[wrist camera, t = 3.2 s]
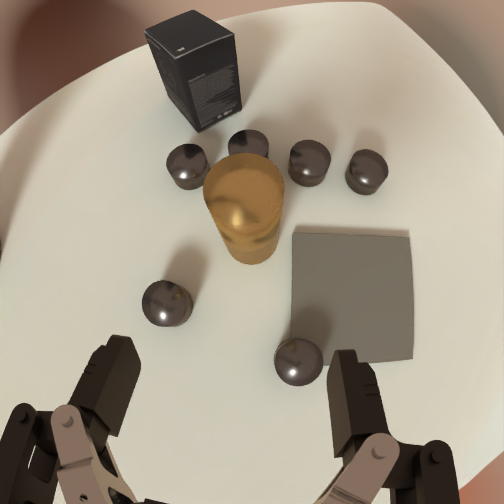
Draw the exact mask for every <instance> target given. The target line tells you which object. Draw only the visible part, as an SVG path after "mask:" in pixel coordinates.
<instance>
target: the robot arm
mask: <svg viewBox="0 0 504 504" xmlns="http://www.w3.org/2000/svg"><path fill="white" fill-rule="evenodd" d="M140 370H141V361H140V358H139V356H138V353H137V351H136V349H135V346H134V344H133V341H132V339H131V338H130V337H127V336H120V335H112V336H111V337H110V338H109V340H108V342H107V344H106V346H104V345H101V346H100V347H99V348H98V349H97V350H96V351H95V352H94V353H93V354H92V356H91V358H90V360H89V362H88V365H87V366H86V368H85V370H84V373H83V374H82V376H81V378H80V380H79V382H78V384H77V386H76V388H75V390H74V392H73V394H72V396H71V399H70V401H69V402H68V404H66V405H61V406H59V407H58V408H56V409H55V410H54V411H36V410H35V409H34V408H33V407H32V406H31V405H30V404H27V403H21V404H19V405H17V406H16V407H15V408H14V409H13V411H12V413H11V415H10V418H9V420H8V423H7V425H6V427H5V430H4V432H3V435H2V438H1V440H0V504H53V500H54V495H55V491H56V487H57V483H58V480H59V483H60V486H61V489H62V492H63V495H64V498H65V501H66V504H167V503H163V502H158V501H154V500H150V499H146V498H145V501H144V502H138V501H137V500H136V498H135V496H134V494H133V492H132V490H131V489H130V488H129V486H128V485H127V484H126V482H125V481H124V480H123V478H122V476H121V474H120V471H119V469H118V467H117V464H116V462H115V460H114V457H113V455H112V452H111V450H110V447H109V445H108V442H107V438H108V435H112V436H115V437H118V434H119V431H120V428H121V425H122V422H123V419H124V417H125V414H126V411H127V408H128V405H129V402H130V399H131V396H132V394H133V391H134V388H135V385H136V383H137V380H138V377H139V374H140ZM377 384H378V383H377V379H376V376H375V372H374V371H373V369H372V368H371V367H370V365H369V364H368V363H367V362H358V358H357V354H356V351H355V350H354V349H344V350H335V351H334V354H333V357H332V360H331V364H330V367H329V370H328V373H327V392H328V400H329V409H330V418H331V427H332V438H333V448H334V458H338V457H343V466H342V467H341V469H340V470H339V472H338V473H337V474H336V476H335V477H334V478H333V480H332V481H331V482H330V484H329V485H328V486H327V488H326V489H325V490H324V491H323V493H322V494H321V495H320V496H319V498H318V499H317V500H316V501H315V502H314V503H313V504H371V503H372V501H373V499H374V498H375V496H376V495H377V493H378V492H379V490H380V488H390V502H391V504H460V499H459V491H458V484H457V477H456V471H455V466H454V460H453V455H452V451H451V448H450V447H449V445H448V444H447V443H445V442H443V441H441V440H433V441H430V442H428V443H427V444H426V445H424V446H422V445H412V444H405V443H401V442H399V441H397V440H396V439H395V438H393V436H392V435H391V434H390V432H389V430H388V426H387V422H386V417H385V413H384V408H383V404H382V400H381V395H380V391H379V387H378V386H377ZM34 446H36V447H35V450H34V453H33V456H32V459H31V462H30V466H29V469H28V464H29V461H30V458H31V455H32V452H33V449H34Z"/></svg>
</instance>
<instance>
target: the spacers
mask: <svg viewBox="0 0 504 504" xmlns="http://www.w3.org/2000/svg"><path fill="white" fill-rule="evenodd" d="M268 149H269V144H268V140H267V138H266V137H265V136H264V135H263V134H262V133H261V132H259V131H256V130H242V131H239V132H237V133H235V134H234V135H233V136H232V137H231V138H230V140H229V143H228V150H229V155H233V154H238V153H252V154H257V155H260V156H263V157H265V158H267V159H268ZM330 162H331V156H330V153H329V151H328V149H327V148H326V147H325V146H324V145H322V144H321V143H319V142H317V141H313V140H303V141H300V142H298V143H296V144H295V145H294V146H293V147H292V149H291V153H290V160H289V167H288V171H289V175H290V177H291V178H292V180H293V181H294V182H296V183H297V184H299V185H301V186H305V187H313V186H316V185H318V184H320V183H321V182H322V181H323V180H324V178H325V176H326V173H327V170H328V168H329V165H330ZM166 166H167V169H168V171H169V173H170V174H171V176H172V178H173V180H174V181H175V183H176V184H177V186H179V187H180V188H182V189H185V190H193V189H197V188H199V187H201V186H202V185H203V184H204V181H205V178H206V176H207V174H208V172H209V171H210V168H209V165H208V162H207V159H206V156H205V153H204V151H203V149H202V148H201V147H199V146H198V145H195V144H183V145H180V146H178V147H177V148H175V149H174V150H173V151H172V152H171V153H170V154H169V156H168V158H167V162H166ZM387 176H388V166H387V163H386V161H385V160H384V159H383V157H382V156H381V155H379V154H378V153H376V152H374V151H372V150H367V149H363V150H359V151H357V152H356V153H355V154H354V155H353V157H352V159H351V161H350V163H349V165H348V167H347V170H346V172H345V179H346V182H347V184H348V186H349V187H350V188H351V189H352V190H353V191H354V192H356V193H358V194H361V195H371V194H373V193H375V192H376V191H377V189H378V188H379V187H380V186H381V184H382V183H383V182H384V180H385V179H386V178H387ZM142 309H143V312H144V314H145V316H146V318H147V319H148V320H149V321H150V322H151V323H153V324H155V325H157V326H162V327H175V326H179V325H182V324H183V323H185V322H186V321H187V320H188V319H189V317H190V315H191V313H192V309H193V303H192V299H191V296H190V294H189V293H188V292H187V291H186V290H185V289H184V288H182V287H181V286H179V285H177V284H175V283H172V282H170V281H165V280H161V281H157V282H155V283H153V284H151V285H150V286H149V287H148V288H147V289H146V291H145V293H144V295H143V298H142ZM323 363H324V360H323V355H322V352H321V350H320V349H319V347H318V346H317V345H316V344H314V343H313V342H311V341H308V340H305V339H302V338H293V339H288V340H286V341H284V342H283V343H281V344H280V345H279V347H278V348H277V350H276V352H275V355H274V365H275V368H276V371H277V374H278V376H279V377H280V378H281V379H282V380H283V381H284V382H285V383H287V384H289V385H293V386H304V385H307V384H309V383H311V382H313V381H314V380H315V379H316V378H317V377H318V376H319V375H320V373H321V371H322V369H323Z"/></svg>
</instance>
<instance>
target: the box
mask: <svg viewBox="0 0 504 504" xmlns="http://www.w3.org/2000/svg"><path fill="white" fill-rule="evenodd" d="M144 33H145V36H146V39H147V41H148V44H149V46H150V49H151V52H152V55H153V57H154V60H155V62H156V65H157V68H158V70H159V73H160V75H161V78H162V81H163V83H164V86H165V89H166V91H167V94H168V96H169V98H170V99H171V101H172V102H173V103H174V104H175V106H176V107H177V108H178V109H179V110H180V112H181V113H182V114H183V115H184V117H185V118H186V119H187V120H188V121H189V123H190V124H191V125H192V126H193V128H194V129H195V130H196V131H197V132H198V133H200V132H202V131H203V130H205V129H207V128H209V127H211V126H213V125H215V124H217V123H218V122H220V121H222V120H224V119H226V118H228V117H230V116H232V115H234V114H236V113H237V112H240V111H241V109H242V104H241V94H240V85H239V75H238V65H237V54H236V46H235V38H234V33H232V32H231V31H229V30H227V29H226V28H224V27H223V26H221V25H219V24H218V23H216V22H214V21H212V20H211V19H209V18H207V17H206V16H204V15H202V14H200V13H199V12H197V11H195V10H191V11H188V12H185V13H183V14H180V15H178V16H175V17H173V18H170V19H168V20H166V21H163V22H161V23H159V24H157V25H155V26H152V27H150V28H148V29H146V30H145V31H144Z"/></svg>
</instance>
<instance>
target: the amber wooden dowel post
mask: <svg viewBox="0 0 504 504" xmlns="http://www.w3.org/2000/svg"><path fill="white" fill-rule="evenodd" d="M203 196H204V200H205V202H206V205H207V207H208V209H209V211H210V213H211V215H212V217H213V220H214V222H215V224H216V226H217V228H218V230H219V232H220V234H221V236H222V238H223V241H224V243H225V245H226V247H227V249H228V251H229V253H230V254H231V255H232V257H233V258H234V259H236V260H237V261H239V262H241V263H244V264H249V265H254V264H259V263H262V262H264V261H265V260H267V259H268V258H269V257H270V256H271V255H272V254H273V253H274V251H275V249H276V245H277V240H278V233H279V225H280V218H281V211H282V204H283V196H284V181H283V177H282V175H281V173H280V171H279V169H278V168H277V167H276V166H275V165H274V164H273V163H272V162H271V161H270V160H268V159H267V158H265V157H263V156H260V155H257V154H252V153H238V154H233V155H230V156H227V157H225V158H223V159H221V160H220V161H219V162H217V163H216V164H215V165H214V166H213V167H212V168H211V169H210V171H209V172H208V174H207V176H206V178H205V181H204V185H203Z"/></svg>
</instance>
